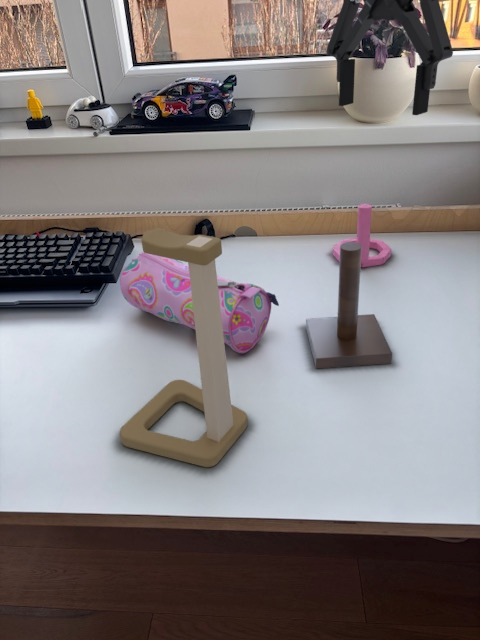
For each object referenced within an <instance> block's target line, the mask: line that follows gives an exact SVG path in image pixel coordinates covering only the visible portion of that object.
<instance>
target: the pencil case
mask: <svg viewBox="0 0 480 640" xmlns="http://www.w3.org/2000/svg"><path fill="white" fill-rule="evenodd" d="M217 282H218V291H219V300H220V309H221V318H222V327H223V336H224V344H225V345H227V346H228V347H230V348H231V349H232V351H234V352H236V353H238V354H246V353H249V351H251V350H253V348H254V347H255V346H256V345H257V344H258V342H259V340H260V339H261V338H262V336H263V335H264V333H265V331H266V329H267V327H268V324H269V321H270V317H271V313H272V304H273V305H275V306H278V307H279V306H280V305H279V302H278V299H277V296H276V294H273V293H271V292H268V291H266V290H265V289H264V288H262V287H261V286H259V285H256V284H253V283H246V282H244V283H243V282H241V283H240V282H237V281H235V280H231V279H228V278H225V277H223V276H220V275H217ZM119 287H120V291H121V294H122V296H123V298H124V300H125V301H126V302H128V303H129V304H130V305H131V306H133V307H134V308H137V309H139V310H141V311H143V312H147V313H150V314H152V315H154V316H156V317H158V318H160V319H162V320H164V321H166V322H171V323H176V324H180V325H183V326H187V327H188V328H191V329H193V330H195V321H194V311H193V302H192V293H191V284H190V275H189V266H188V265H187V264H185V263H183V261H180V260H175V259H170V258H166V257H161V256H156V255H152V254H147V253H144V252H143V251H142V252H140V253H138V256H135V257H133V258H132V259H131V261H130V262H129V263H128V264H127V265H126V266H125V267H124V268H123V270H122V272H121V274H120V278H119Z"/></svg>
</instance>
